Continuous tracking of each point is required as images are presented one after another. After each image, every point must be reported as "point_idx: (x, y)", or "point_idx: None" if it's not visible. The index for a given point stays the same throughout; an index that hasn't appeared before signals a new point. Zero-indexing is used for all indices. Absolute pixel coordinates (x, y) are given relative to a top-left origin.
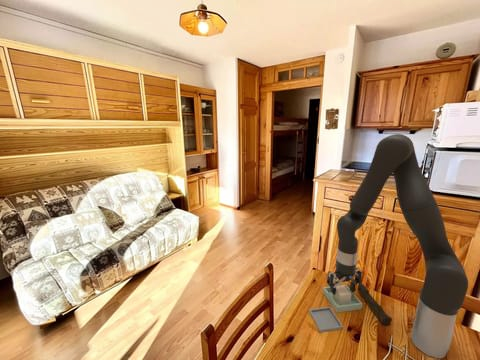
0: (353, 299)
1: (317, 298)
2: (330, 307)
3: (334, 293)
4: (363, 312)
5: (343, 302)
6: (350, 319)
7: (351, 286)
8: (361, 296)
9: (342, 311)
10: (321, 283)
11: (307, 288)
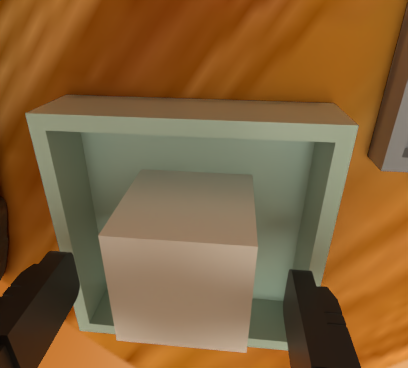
0: (88, 200)
1: (380, 271)
2: (385, 160)
3: (313, 285)
4: (65, 66)
5: (209, 185)
6: (245, 7)
7: (43, 323)
8: (4, 214)
9: (272, 105)
10: (244, 361)
11: (383, 353)
